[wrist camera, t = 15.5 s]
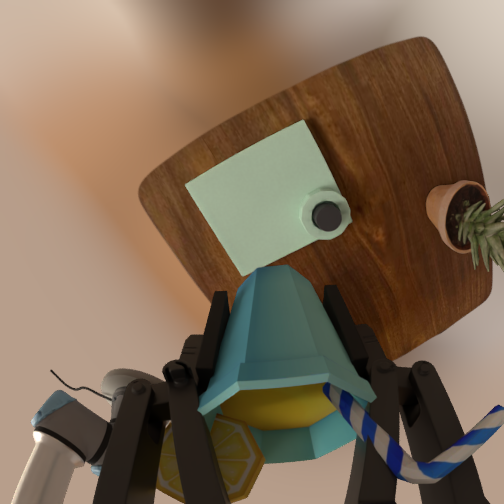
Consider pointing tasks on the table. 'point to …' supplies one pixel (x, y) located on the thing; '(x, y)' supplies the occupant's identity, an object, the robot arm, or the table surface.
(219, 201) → the scale
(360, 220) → the table surface
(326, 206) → the tare button
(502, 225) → the potted plant
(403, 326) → the table surface
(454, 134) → the table surface
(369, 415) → the robot arm
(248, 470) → the cup
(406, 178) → the table surface
